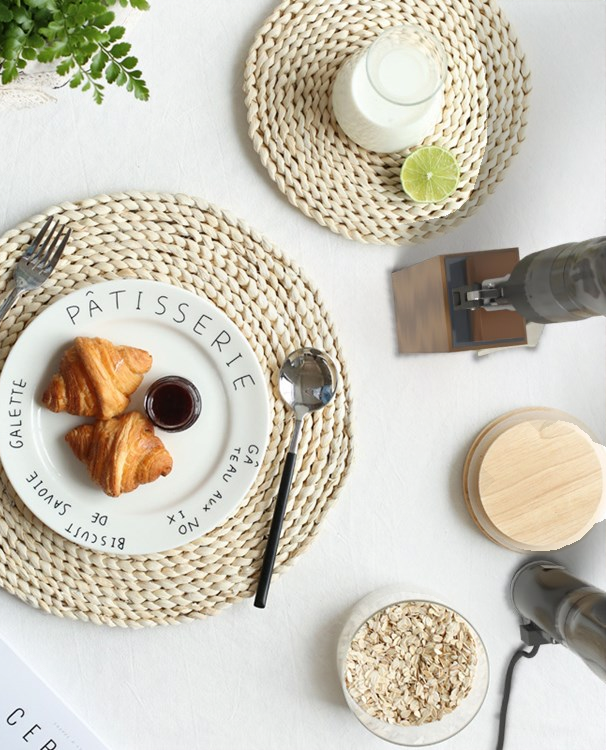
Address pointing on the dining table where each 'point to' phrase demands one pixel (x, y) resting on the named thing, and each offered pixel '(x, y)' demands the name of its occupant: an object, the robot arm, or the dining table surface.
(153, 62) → the dining table surface
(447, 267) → the pad
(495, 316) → the brown wooden block
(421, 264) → the stand
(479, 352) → the ceramic fragment
